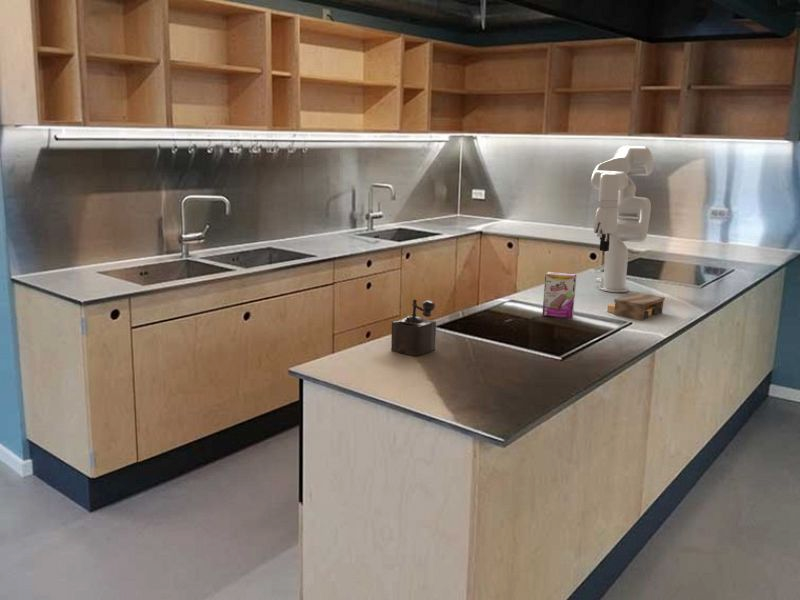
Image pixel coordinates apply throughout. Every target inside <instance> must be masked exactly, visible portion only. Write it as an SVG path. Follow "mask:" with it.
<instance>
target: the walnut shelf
mask: <svg viewBox="0 0 800 600" xmlns="http://www.w3.org/2000/svg"><path fill="white" fill-rule="evenodd" d="M665 299H666V297H664V296H659V295H653V294H649V293H648V294H647V293H641V292H635V293H634V292H633V293H630V294H628V295H627V294H626V295H624V296H621V297H618V298H614V300H613V303H615V311H614V313H613V314H614V315H615V316H619V317H623V318H630V319H634V320H637V321H638V320H639V321H644V320H645V319H648V318H649V316H648V314H649V311H645V307H646V306H654V307H656V308H653V309H652V315H651V316H656V315H658V314H660V315H661V314H663V308H664V301H665Z"/></svg>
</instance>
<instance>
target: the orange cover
mask: <svg viewBox="0 0 800 600" xmlns="http://www.w3.org/2000/svg"><path fill="white" fill-rule="evenodd" d="M653 308H656V307H654V306H646V307H645V311H649V314H648V317H650V316H653V315H652V309H653ZM614 311H615V302H613V303H611V304H608V305H607V312H608V313H612V314H614Z"/></svg>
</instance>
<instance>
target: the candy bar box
mask: <svg viewBox="0 0 800 600" xmlns="http://www.w3.org/2000/svg"><path fill="white" fill-rule="evenodd" d="M544 277H545V278H544V288H543V300H542V301H543V303H542V317H551V318H558V319H559V318H560V319H569V320H570V319H571V320H572V318H573V317H574V310H575V299H576V286H577V285H576V284H577V273H576V274H574V273H564V272H553V271H547V272H546V273H545V276H544Z"/></svg>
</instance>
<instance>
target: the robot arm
mask: <svg viewBox="0 0 800 600" xmlns="http://www.w3.org/2000/svg"><path fill="white" fill-rule="evenodd" d="M654 165H655V164H654V158H653V155H652V152H651V150H650V149H649V148H648V147H647V146H644V145H622V146H620V147H618V148H617V149H616V151H615V152H614V154H613V156H612V158H611V159H608V160H606V161H604V162H601V163H599V164H597V165H596V166H595V168H594V169H593V171H592V174H591V177H590V184H591V187H592V188H593V189H595V190H598V196H597V197H598V200H597V208H596V211H595V216H594V217H595V218H594V224H593V233H594V234H596V237H598V238H599V241H600V243H599V251H601V252H605V258H604V268H603V269H604V271H603V278H600V277H597V278H596V279H595V283H597V284H600V285H598V286H599V288H598V289H599V290H600V291H603V292H607V293H627V292H629V290H630V289H629V287H628V286H626V281H627V271H628V259H629V250H628V248H627V245H626V244H625V243H624V242H633V243H642V242H645V240H646V239H647V235H648V230H649V225H650V220H651V219H650V217H651V212H652V211H651V210H652V205H651V204H652V203H651V201H650V199H649V198H648V197H645V196H644V197H643V196H636V190H637V187H636V185H635V182H634V181H633V180H632V179H631V178H630V177H629V176H641V177H644V176H646V177H648V176H650V175H651V174H652V173H653V170H654V167H655V166H654Z"/></svg>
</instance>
